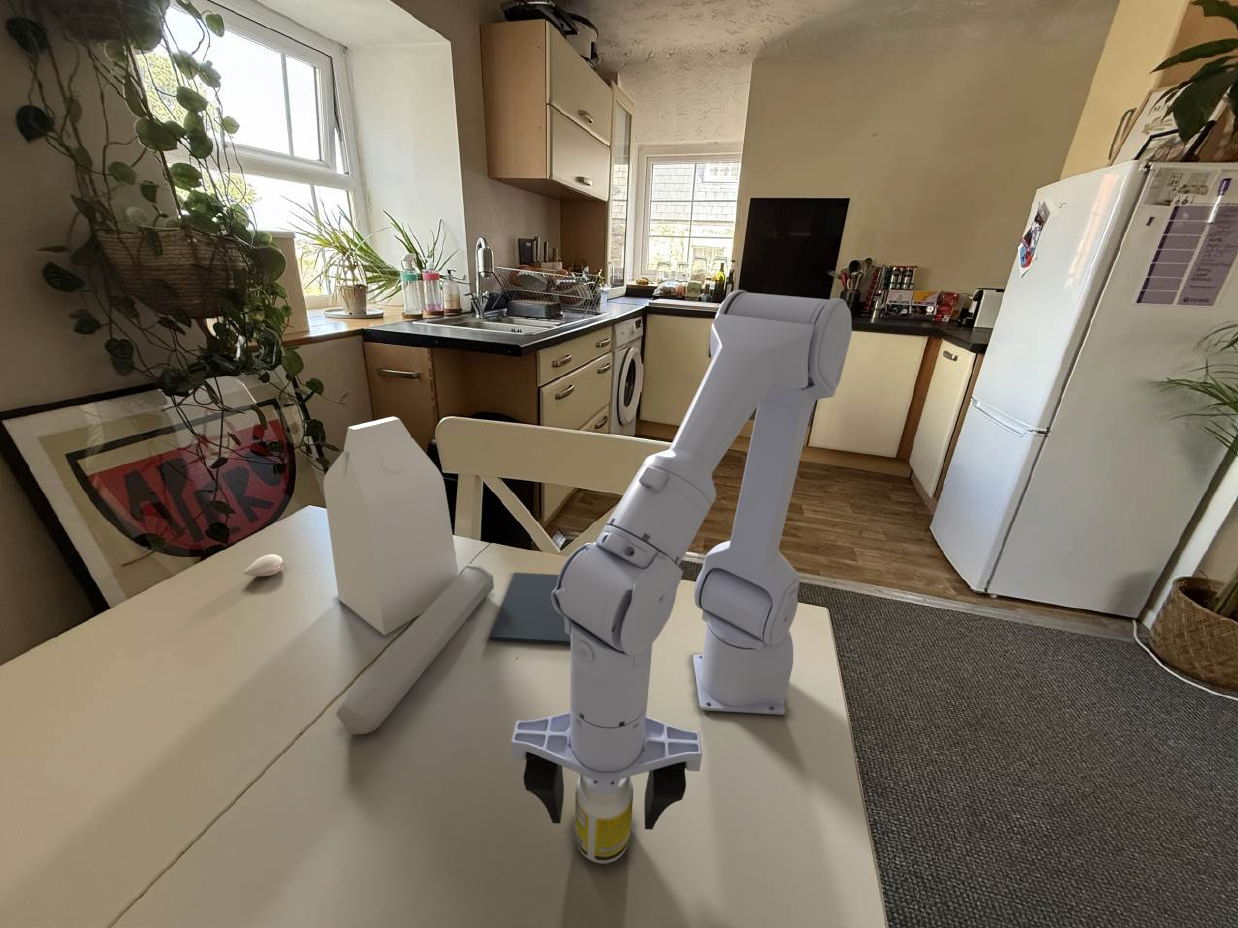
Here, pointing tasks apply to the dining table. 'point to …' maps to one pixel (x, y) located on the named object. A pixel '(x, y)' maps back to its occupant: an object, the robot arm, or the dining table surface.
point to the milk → (388, 525)
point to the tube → (413, 652)
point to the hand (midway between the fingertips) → (603, 813)
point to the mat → (530, 612)
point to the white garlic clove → (265, 566)
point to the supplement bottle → (603, 820)
